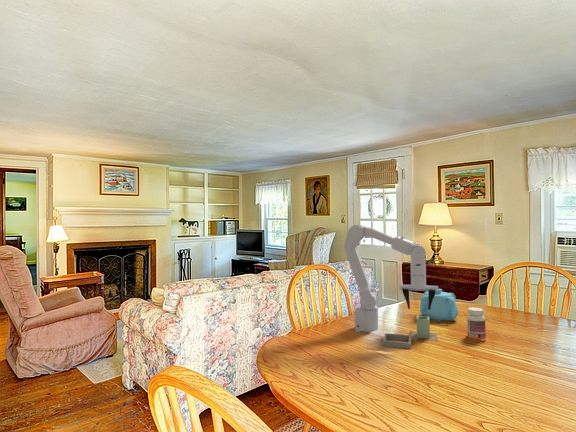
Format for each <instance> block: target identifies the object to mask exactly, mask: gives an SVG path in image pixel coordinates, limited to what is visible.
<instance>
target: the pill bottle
mask: <svg viewBox="0 0 576 432" xmlns="http://www.w3.org/2000/svg"><path fill="white" fill-rule="evenodd" d="M467 311H468V312H467V313H468V315H467V316H466V326H467V327H466V328H467V330H466V331H467V337H468V338H470V339H474V340H480V341H481V342H484V341H486V338H487V337H486V336H487V335H486V334H487V333H486V330H487V327H486V317H485V316H484V309H483V308H480V307H468V309H467Z"/></svg>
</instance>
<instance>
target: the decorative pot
mask: <svg viewBox="0 0 576 432" xmlns="http://www.w3.org/2000/svg"><path fill="white" fill-rule="evenodd" d="M456 301H457V297H456V295H455V294H454V293H453V292H445V291H443V289H442V288H438V292H435V296H434V298H433V300H432V303H431V308H430V310H428V302H429V296H428V291H424V292H423V295H422V296H421V297H420V305H419V313H420V314H421V316H424V317H429V320H434V322H435V321H436V323H441V322H442V321H451V322H453V320H455V319H457V318H458V315H459V307H458V304H457V302H456Z"/></svg>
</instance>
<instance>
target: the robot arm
mask: <svg viewBox="0 0 576 432" xmlns="http://www.w3.org/2000/svg"><path fill="white" fill-rule="evenodd" d="M345 234H346V235H345V240H344V245H343V249H344V252H345V255H346V258H347V260H348V264H349V266H350V268H351V269H350V270H351V271H352V274H353V278H354V279H355V283H356V285H357V287H358V295H359V298H360V299H359V303H360V307H355V310H354V331H355V332H360V331H365V332H364V333H371V332H373V331H377V330H379V307H378V305H377V304H376V303H377V301H378V294H377V293H376V292H375V291H374V290H373V288H372V285H371V284H370V282H369V279H368V276H367V273H366V272H365V268H364V266H363V264H362V260H361V257H360V255H359V251H358V250H357V249H358V248H357V247H358V246H359V244H360V242H361V240H363V239H370V238H372V239H375V240H377V241H381V242H382V243H385V244H388V245H390V246H391V248H392V250H394V251H396V252H399V253H401V254H403V255H406V256H410V257H411V258H410V284H399V291H402V294H403V296H404V298H405V302H406V304H407V309H409V310H410V309H411V303H410V291H416V292H418V291H420V292H422V291H423V292H426V291H428V296H429V302H428V310H430V308H431V303H432V300H433V298H434V296H435V292H438V289H439V286H438V285H428V284H427V265H426V255H427V251H426V249H425V247H424V246H423V245H421V244H419V243H417V242H416V241H411V240H408V239H406V238H405V236H402V235H401V236H396V237H392V236H391V235H389V234H386V233H384V232H382V231H379V230H378V229H375V228H372V227H370V226H369V227H368V226H364V225H362V224H354V225H352V226H350V227H349V229H348V230H347V232H346V233H345Z"/></svg>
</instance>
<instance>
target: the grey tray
mask: <svg viewBox="0 0 576 432" xmlns="http://www.w3.org/2000/svg"><path fill="white" fill-rule="evenodd" d="M388 339H389V340H388ZM394 340H399V341H394ZM405 341H408V342H405ZM382 346H383V347H390V348H401V349H410V350H411V348H412V339H411V335H410V334H398V333H388V332H387V333H386V332H385V333H384V337H383V340H382Z"/></svg>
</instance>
